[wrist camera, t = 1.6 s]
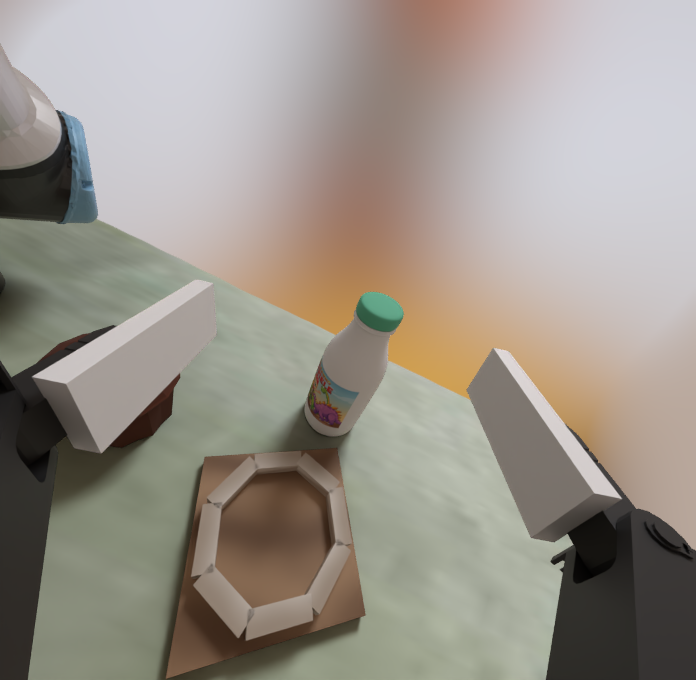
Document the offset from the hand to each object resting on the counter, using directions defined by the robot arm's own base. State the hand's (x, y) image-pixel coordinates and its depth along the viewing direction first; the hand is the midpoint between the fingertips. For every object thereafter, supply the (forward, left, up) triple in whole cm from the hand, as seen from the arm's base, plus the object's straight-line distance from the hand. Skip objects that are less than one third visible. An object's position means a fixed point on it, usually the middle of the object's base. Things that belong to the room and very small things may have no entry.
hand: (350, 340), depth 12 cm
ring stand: (+3, 0, -25) cm, 25 cm away
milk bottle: (-11, +7, -25) cm, 28 cm away
